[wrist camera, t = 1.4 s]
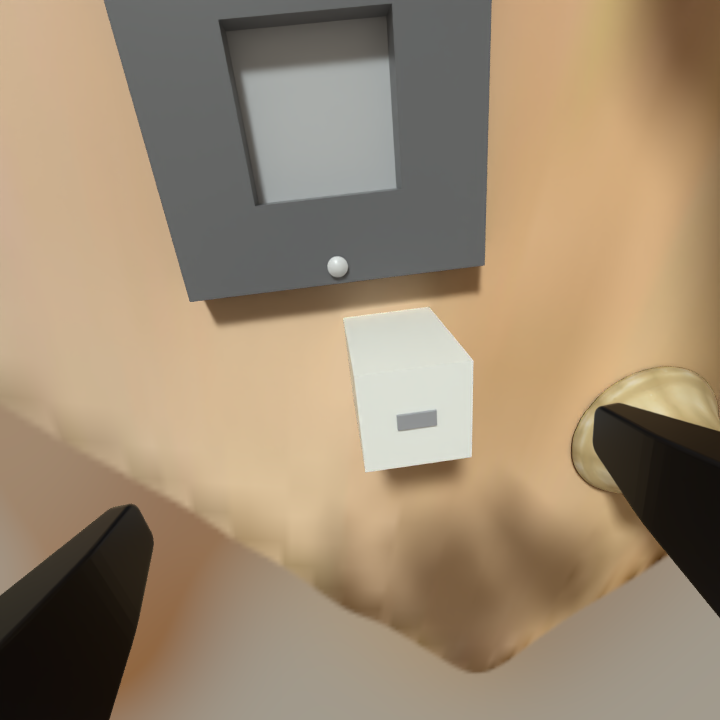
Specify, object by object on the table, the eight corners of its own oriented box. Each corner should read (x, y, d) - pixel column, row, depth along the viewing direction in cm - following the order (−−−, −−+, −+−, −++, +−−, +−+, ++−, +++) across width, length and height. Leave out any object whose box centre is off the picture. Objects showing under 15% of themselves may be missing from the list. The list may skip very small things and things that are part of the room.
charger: (428, 306, 19) (474, 361, 14) (431, 382, 21) (472, 458, 15) (343, 317, 19) (354, 377, 13) (352, 393, 21) (366, 474, 15)
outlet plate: (476, -117, 13) (498, -155, 12) (471, 258, 18) (486, 266, 17) (96, -86, 13) (66, -122, 11) (199, 292, 18) (188, 303, 16)
